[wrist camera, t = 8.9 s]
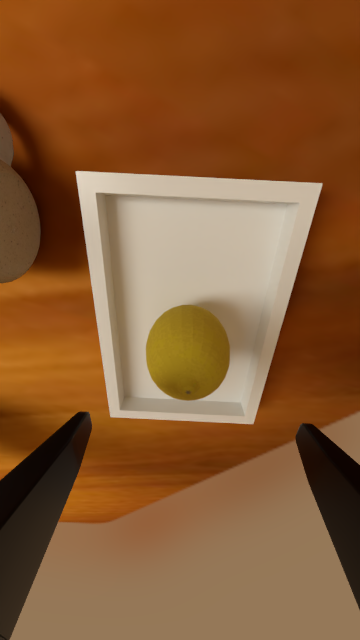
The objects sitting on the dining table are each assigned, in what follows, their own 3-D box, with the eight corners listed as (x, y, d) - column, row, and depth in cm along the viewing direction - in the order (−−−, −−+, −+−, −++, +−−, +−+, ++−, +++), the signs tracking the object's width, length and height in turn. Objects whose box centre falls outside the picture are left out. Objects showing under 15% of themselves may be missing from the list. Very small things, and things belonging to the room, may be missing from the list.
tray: (246, 403, 23) (253, 424, 21) (117, 397, 23) (110, 417, 21) (301, 188, 14) (322, 183, 12) (92, 177, 14) (75, 170, 12)
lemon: (140, 321, 18) (112, 391, 11) (188, 275, 16) (190, 323, 9) (186, 359, 20) (187, 441, 13) (233, 322, 18) (266, 393, 11)
